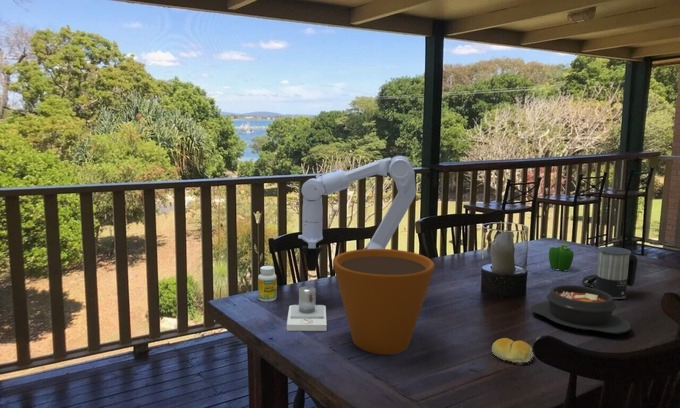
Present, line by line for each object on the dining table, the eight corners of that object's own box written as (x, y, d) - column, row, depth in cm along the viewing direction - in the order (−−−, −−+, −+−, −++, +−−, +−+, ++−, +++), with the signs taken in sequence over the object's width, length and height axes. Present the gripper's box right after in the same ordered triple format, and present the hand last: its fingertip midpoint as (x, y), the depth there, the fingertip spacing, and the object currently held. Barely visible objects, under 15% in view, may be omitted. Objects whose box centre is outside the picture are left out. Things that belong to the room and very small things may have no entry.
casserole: (518, 319, 144) (521, 289, 143) (546, 303, 157) (549, 276, 156) (617, 347, 127) (621, 314, 126) (639, 327, 140) (643, 296, 139)
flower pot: (448, 356, 120) (453, 271, 117) (348, 368, 113) (350, 278, 110) (406, 318, 142) (409, 246, 139) (320, 326, 135) (322, 251, 132)
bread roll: (496, 346, 126) (497, 330, 126) (535, 355, 122) (537, 339, 121) (486, 358, 120) (487, 342, 119) (527, 369, 115) (528, 352, 114)
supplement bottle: (271, 294, 160) (271, 264, 158) (279, 300, 155) (279, 268, 154) (255, 297, 157) (255, 266, 155) (263, 303, 152) (262, 270, 151)
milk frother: (618, 302, 159) (623, 255, 157) (567, 289, 171) (572, 244, 169) (637, 293, 168) (642, 248, 166) (588, 281, 180) (592, 239, 178)
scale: (325, 311, 147) (325, 303, 146) (326, 330, 133) (326, 322, 133) (289, 310, 146) (289, 303, 146) (286, 330, 132) (286, 322, 132)
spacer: (315, 307, 143) (315, 286, 142) (315, 313, 139) (315, 291, 138) (299, 307, 143) (299, 286, 142) (298, 313, 138) (298, 291, 138)
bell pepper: (545, 266, 199) (547, 240, 197) (568, 267, 198) (570, 241, 196) (550, 272, 191) (553, 245, 189) (574, 273, 190) (577, 246, 188)
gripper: (299, 216, 158) (298, 260, 160) (297, 225, 143) (297, 273, 145) (322, 216, 158) (322, 260, 160) (323, 225, 144) (322, 274, 146)
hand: (311, 266), depth 153 cm, fingers open, 7 cm apart
